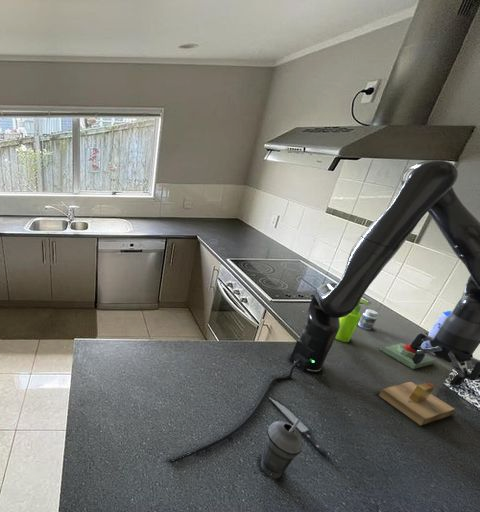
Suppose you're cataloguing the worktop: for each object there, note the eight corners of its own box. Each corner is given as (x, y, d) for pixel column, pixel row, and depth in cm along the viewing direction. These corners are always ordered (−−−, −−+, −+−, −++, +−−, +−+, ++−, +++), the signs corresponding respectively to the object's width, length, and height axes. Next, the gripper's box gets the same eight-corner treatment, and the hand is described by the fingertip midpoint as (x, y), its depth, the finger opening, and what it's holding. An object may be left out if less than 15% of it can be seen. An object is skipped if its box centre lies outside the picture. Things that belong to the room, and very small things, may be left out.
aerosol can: (452, 355, 114) (480, 314, 106) (442, 359, 111) (471, 318, 104) (425, 342, 121) (450, 303, 113) (416, 346, 118) (441, 306, 110)
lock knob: (416, 402, 88) (425, 389, 86) (409, 397, 90) (417, 384, 88) (426, 399, 90) (435, 386, 87) (419, 394, 91) (428, 381, 89)
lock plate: (420, 425, 84) (425, 418, 83) (378, 395, 94) (382, 388, 93) (450, 415, 88) (455, 408, 87) (406, 387, 98) (411, 380, 96)
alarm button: (413, 354, 108) (415, 350, 108) (402, 348, 112) (404, 344, 111) (419, 352, 109) (421, 349, 109) (408, 346, 112) (410, 343, 112)
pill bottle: (359, 327, 129) (367, 312, 126) (356, 322, 133) (363, 307, 130) (372, 331, 127) (380, 315, 124) (369, 325, 131) (376, 310, 128)
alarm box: (412, 369, 106) (418, 361, 104) (382, 351, 115) (386, 343, 113) (431, 364, 109) (437, 356, 107) (400, 347, 118) (404, 339, 116)
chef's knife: (275, 396, 92) (268, 397, 92) (276, 394, 92) (269, 395, 91) (332, 455, 75) (323, 457, 74) (334, 453, 75) (325, 455, 74)
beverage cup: (275, 453, 75) (299, 400, 67) (294, 484, 69) (323, 429, 61) (249, 453, 75) (270, 400, 67) (265, 484, 68) (290, 430, 60)
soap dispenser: (345, 344, 118) (364, 304, 110) (328, 334, 124) (346, 295, 116) (355, 342, 119) (375, 302, 111) (338, 332, 125) (356, 294, 118)
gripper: (421, 318, 85) (397, 359, 91) (492, 349, 73) (459, 395, 79) (437, 314, 87) (412, 355, 93) (509, 345, 74) (475, 389, 81)
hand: (434, 373), depth 86 cm, fingers open, 8 cm apart
